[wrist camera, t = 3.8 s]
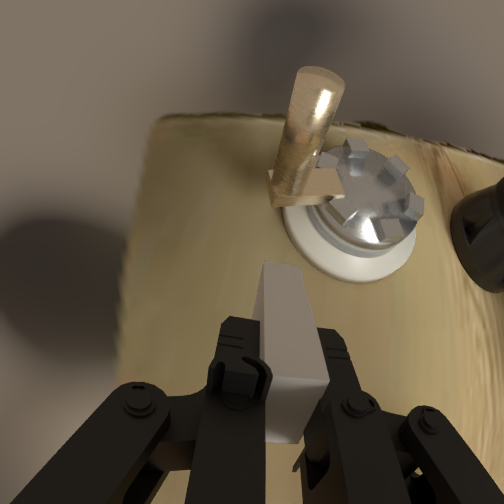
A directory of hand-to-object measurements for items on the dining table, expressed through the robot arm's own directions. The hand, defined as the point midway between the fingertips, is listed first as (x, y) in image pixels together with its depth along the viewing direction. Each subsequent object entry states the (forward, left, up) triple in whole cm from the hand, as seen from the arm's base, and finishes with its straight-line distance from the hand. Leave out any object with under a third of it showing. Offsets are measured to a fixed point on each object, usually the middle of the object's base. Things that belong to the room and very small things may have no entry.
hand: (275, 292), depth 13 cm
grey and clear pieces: (-16, -4, -14) cm, 21 cm away
